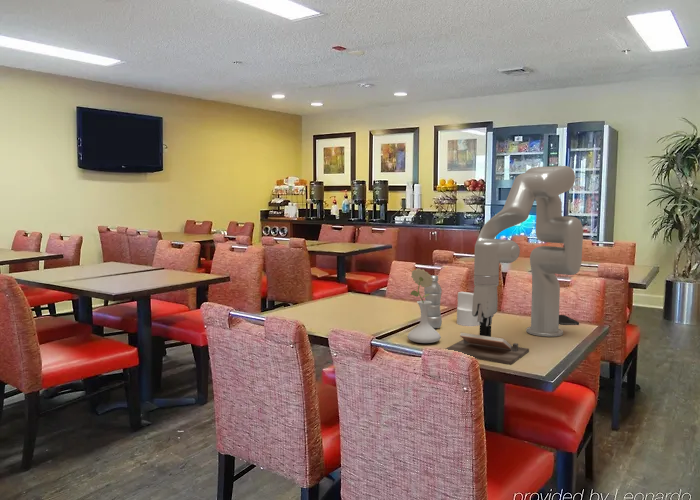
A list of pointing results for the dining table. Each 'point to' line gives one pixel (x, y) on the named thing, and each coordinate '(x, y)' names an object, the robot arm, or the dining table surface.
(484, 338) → the tile
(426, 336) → the flower in vase
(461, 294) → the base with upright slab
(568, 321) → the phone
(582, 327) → the dining table surface
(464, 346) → the board
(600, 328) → the dining table surface
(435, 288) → the plastic bottle
